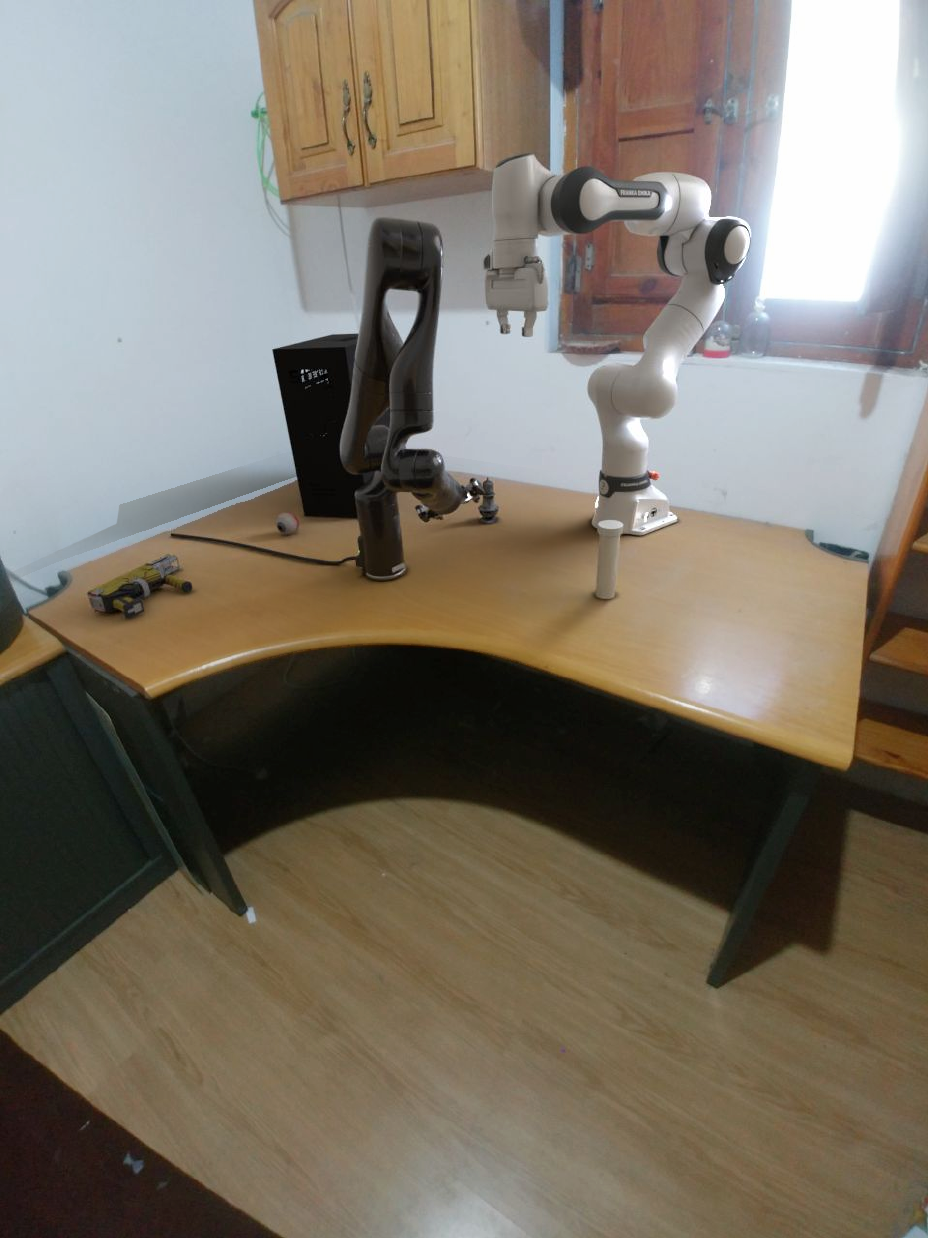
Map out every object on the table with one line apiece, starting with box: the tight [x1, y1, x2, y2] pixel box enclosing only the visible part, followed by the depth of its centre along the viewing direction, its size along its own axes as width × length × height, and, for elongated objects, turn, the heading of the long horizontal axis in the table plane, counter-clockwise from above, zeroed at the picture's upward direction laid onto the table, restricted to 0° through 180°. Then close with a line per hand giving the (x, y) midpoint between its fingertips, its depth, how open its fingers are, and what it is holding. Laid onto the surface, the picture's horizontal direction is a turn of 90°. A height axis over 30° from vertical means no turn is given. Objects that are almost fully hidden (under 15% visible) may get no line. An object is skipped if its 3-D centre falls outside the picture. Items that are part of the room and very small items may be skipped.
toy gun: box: [86, 553, 193, 620], centre depth 136 cm, size 5×24×15 cm
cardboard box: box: [271, 332, 407, 519], centre depth 180 cm, size 38×20×45 cm, turn 167°
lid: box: [596, 520, 623, 537], centre depth 119 cm, size 5×5×2 cm
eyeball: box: [275, 511, 300, 536], centre depth 163 cm, size 6×6×6 cm
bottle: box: [595, 534, 621, 600], centre depth 122 cm, size 4×4×15 cm
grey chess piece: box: [477, 477, 500, 524], centre depth 164 cm, size 6×6×12 cm
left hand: (457, 507), depth 131 cm, fingers open, 8 cm apart
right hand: (516, 335), depth 125 cm, fingers open, 8 cm apart
